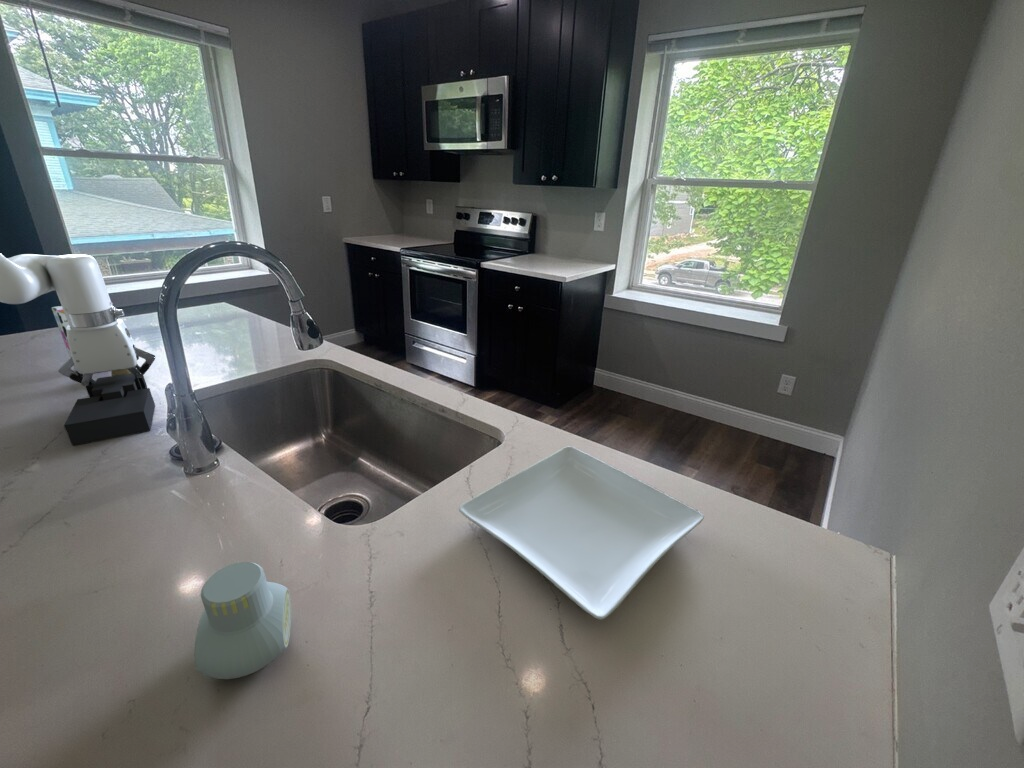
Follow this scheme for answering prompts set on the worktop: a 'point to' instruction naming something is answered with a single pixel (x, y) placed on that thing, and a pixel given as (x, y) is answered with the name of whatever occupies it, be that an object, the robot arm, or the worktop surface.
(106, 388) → the pad
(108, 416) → the notch pad
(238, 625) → the air freshener
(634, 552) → the square plate
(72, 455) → the worktop surface
